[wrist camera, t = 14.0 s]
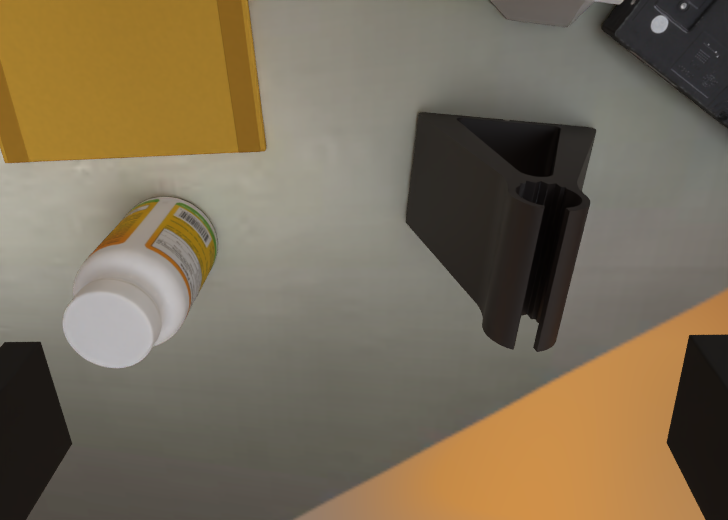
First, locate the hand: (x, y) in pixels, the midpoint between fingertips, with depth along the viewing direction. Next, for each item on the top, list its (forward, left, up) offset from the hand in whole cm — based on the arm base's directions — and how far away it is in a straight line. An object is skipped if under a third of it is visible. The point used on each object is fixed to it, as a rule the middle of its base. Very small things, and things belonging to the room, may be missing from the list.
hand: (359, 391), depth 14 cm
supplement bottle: (+7, -12, -23) cm, 27 cm away
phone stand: (+4, +6, -23) cm, 24 cm away
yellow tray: (-6, -13, -23) cm, 27 cm away
